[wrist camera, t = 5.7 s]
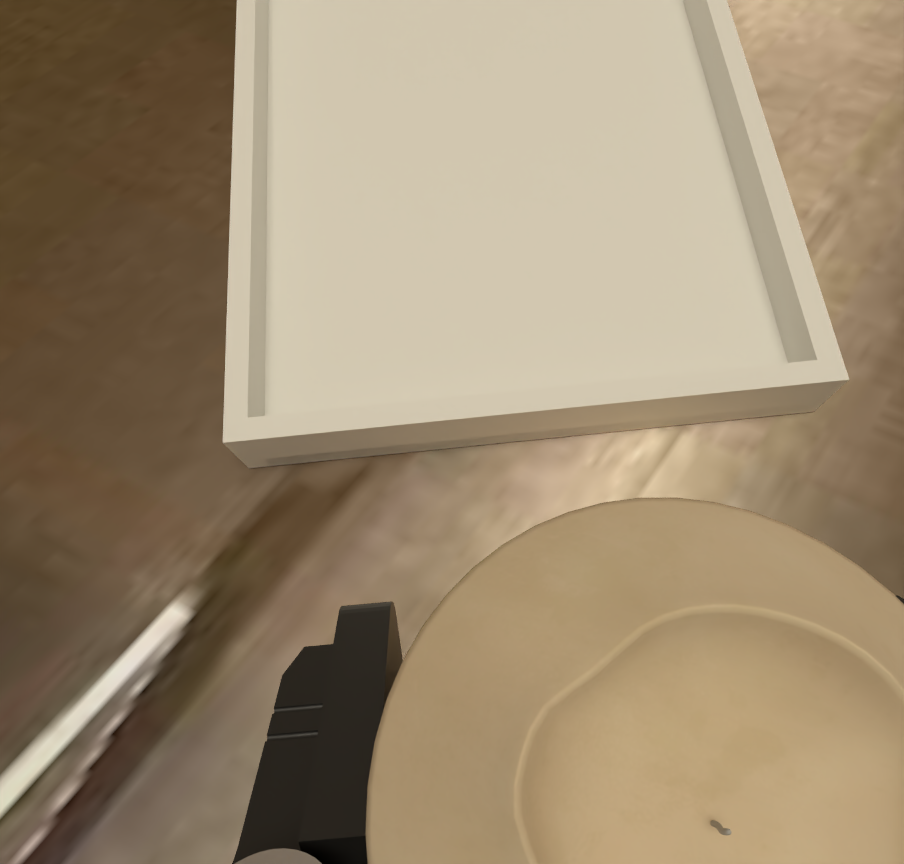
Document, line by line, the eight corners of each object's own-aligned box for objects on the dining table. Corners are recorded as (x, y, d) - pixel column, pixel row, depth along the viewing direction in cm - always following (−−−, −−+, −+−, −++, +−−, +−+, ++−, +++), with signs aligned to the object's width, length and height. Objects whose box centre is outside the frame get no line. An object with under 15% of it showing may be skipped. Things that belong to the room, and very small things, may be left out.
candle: (677, 968, 13) (1252, 1716, 3) (388, 851, 13) (184, 1182, 4) (736, 660, 14) (1212, 575, 5) (479, 573, 15) (482, 363, 6)
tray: (248, 468, 19) (222, 442, 17) (257, -26, 26) (239, -82, 24) (813, 411, 19) (849, 379, 17) (670, -72, 26) (684, -132, 24)
